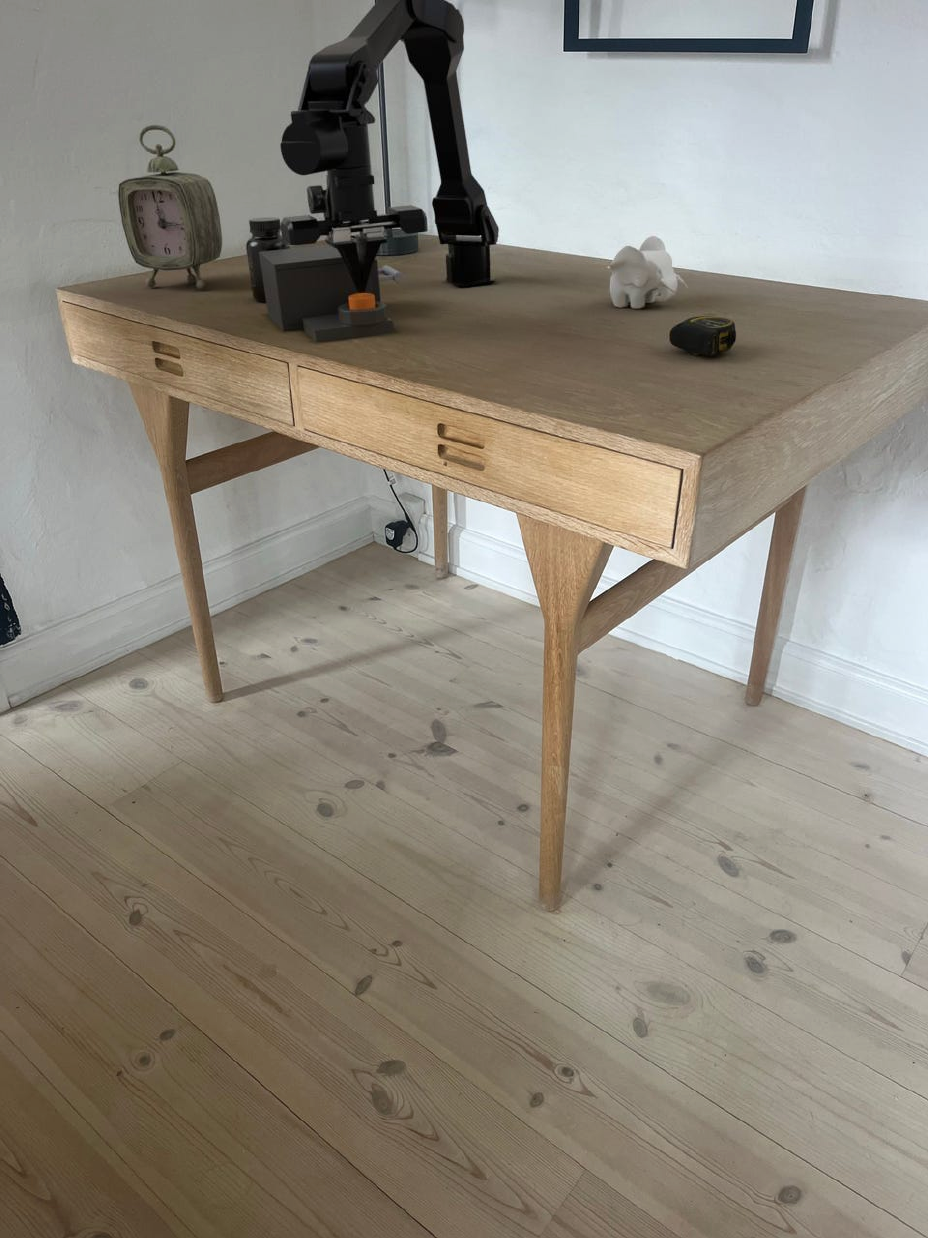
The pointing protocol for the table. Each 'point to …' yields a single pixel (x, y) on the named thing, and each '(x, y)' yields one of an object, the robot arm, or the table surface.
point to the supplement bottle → (262, 249)
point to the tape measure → (704, 335)
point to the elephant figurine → (642, 275)
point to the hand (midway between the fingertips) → (360, 292)
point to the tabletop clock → (170, 217)
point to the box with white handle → (383, 277)
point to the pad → (349, 323)
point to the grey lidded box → (305, 284)
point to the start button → (361, 301)
